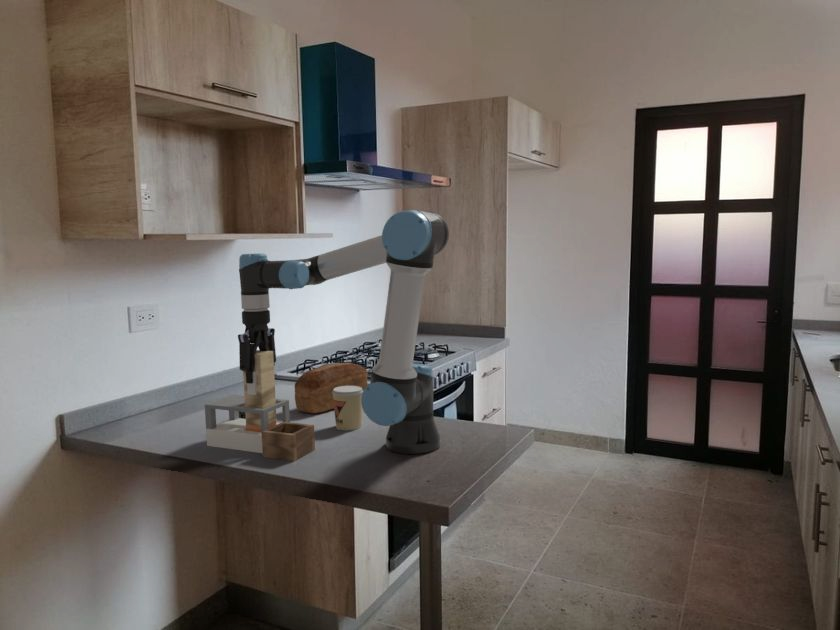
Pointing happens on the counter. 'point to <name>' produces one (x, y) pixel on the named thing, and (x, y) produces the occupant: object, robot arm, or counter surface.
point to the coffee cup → (348, 407)
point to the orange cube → (258, 427)
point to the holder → (288, 441)
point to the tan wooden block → (261, 388)
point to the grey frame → (238, 424)
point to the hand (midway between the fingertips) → (259, 391)
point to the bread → (326, 385)
